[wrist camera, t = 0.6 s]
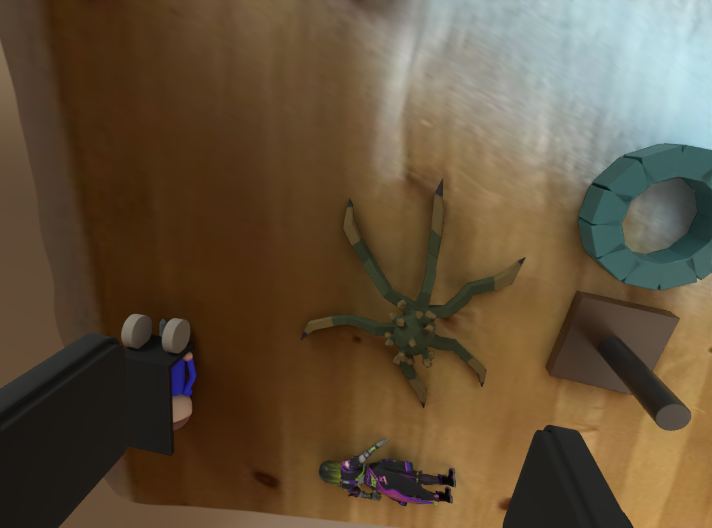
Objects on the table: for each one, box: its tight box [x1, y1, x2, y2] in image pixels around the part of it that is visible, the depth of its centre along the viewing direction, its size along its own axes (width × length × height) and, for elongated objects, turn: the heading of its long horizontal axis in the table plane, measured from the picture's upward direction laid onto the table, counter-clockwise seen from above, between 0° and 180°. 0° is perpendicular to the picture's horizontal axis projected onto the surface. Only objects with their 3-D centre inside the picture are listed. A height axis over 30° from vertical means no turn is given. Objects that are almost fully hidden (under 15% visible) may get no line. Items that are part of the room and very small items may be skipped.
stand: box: [546, 291, 691, 431], centre depth 36 cm, size 9×9×12 cm
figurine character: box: [121, 314, 197, 456], centre depth 46 cm, size 7×8×15 cm
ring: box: [578, 144, 712, 290], centre depth 35 cm, size 12×12×3 cm
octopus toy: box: [301, 179, 526, 408], centre depth 38 cm, size 25×20×9 cm
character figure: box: [319, 439, 456, 506], centre depth 48 cm, size 9×4×16 cm
